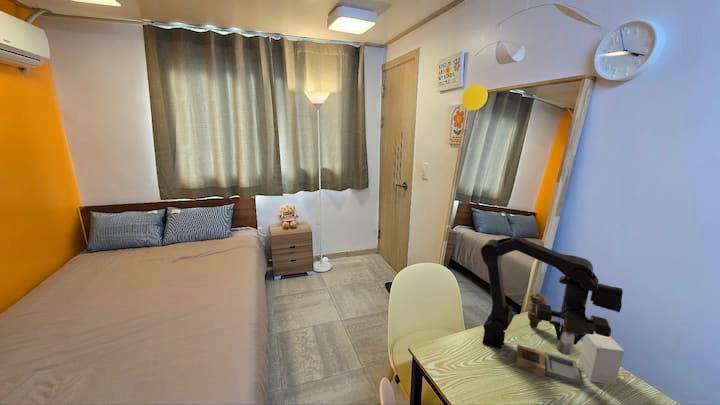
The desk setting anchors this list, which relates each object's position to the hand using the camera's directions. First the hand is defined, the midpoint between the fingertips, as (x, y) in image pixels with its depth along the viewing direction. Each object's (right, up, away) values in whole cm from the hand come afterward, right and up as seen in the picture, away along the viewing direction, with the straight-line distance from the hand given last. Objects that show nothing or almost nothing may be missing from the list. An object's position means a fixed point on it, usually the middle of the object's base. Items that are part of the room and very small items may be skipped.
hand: (566, 341), depth 93 cm
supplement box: (+11, -11, +1) cm, 16 cm away
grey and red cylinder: (0, -3, +1) cm, 4 cm away
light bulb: (+3, -6, +23) cm, 24 cm away
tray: (0, -11, +3) cm, 11 cm away
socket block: (-8, -10, +6) cm, 14 cm away
